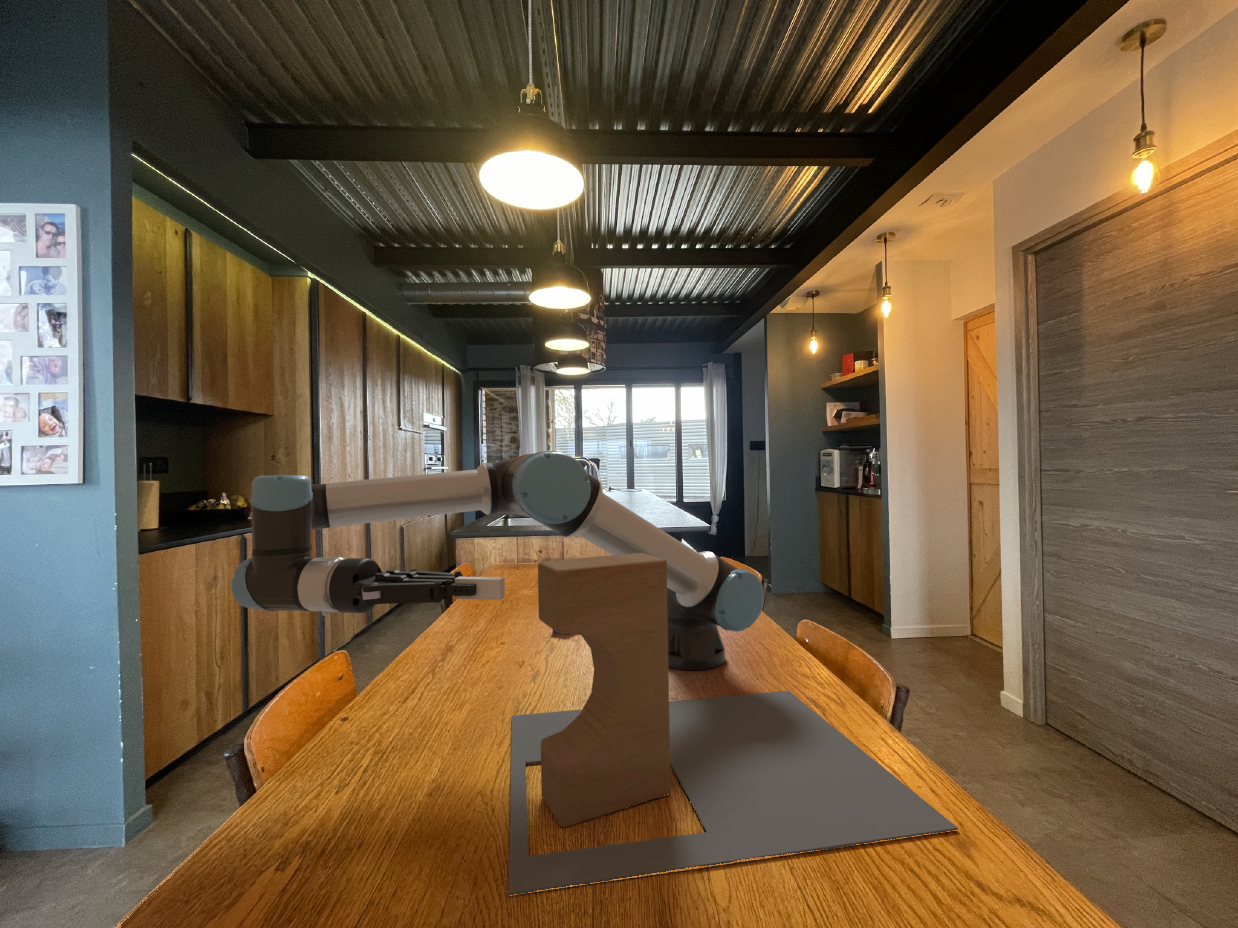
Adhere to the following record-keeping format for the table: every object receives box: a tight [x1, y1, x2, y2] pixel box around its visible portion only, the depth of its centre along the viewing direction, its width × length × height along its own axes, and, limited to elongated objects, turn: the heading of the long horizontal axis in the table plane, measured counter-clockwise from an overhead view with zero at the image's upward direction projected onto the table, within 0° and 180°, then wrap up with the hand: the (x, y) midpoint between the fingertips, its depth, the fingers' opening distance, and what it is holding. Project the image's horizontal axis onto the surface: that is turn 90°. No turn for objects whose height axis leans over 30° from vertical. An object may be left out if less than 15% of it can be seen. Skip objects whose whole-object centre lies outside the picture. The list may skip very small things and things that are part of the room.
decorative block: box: [537, 553, 672, 828], centre depth 73 cm, size 15×8×30 cm, turn 116°
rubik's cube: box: [552, 629, 571, 636], centre depth 147 cm, size 5×5×5 cm
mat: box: [508, 690, 959, 896], centre depth 81 cm, size 50×41×1 cm
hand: (502, 588), depth 77 cm, fingers closed
